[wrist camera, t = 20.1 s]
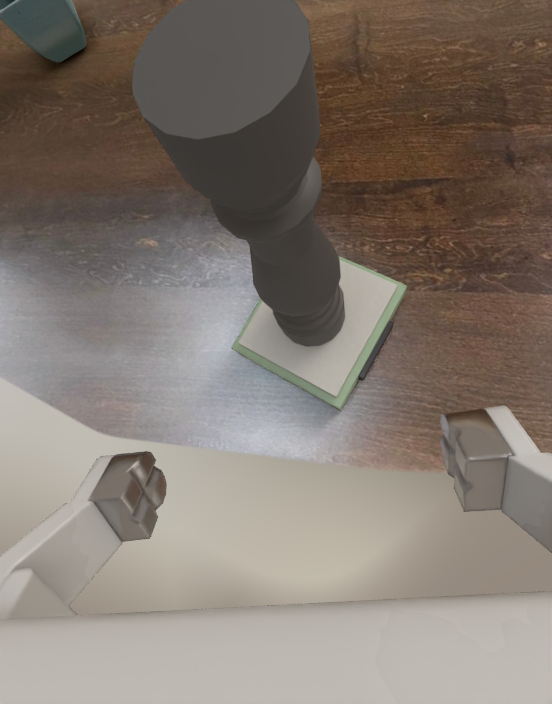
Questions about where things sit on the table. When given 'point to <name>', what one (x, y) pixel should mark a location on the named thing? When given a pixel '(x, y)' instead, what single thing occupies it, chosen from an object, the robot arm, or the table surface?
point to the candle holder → (249, 143)
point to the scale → (336, 355)
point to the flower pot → (45, 26)
